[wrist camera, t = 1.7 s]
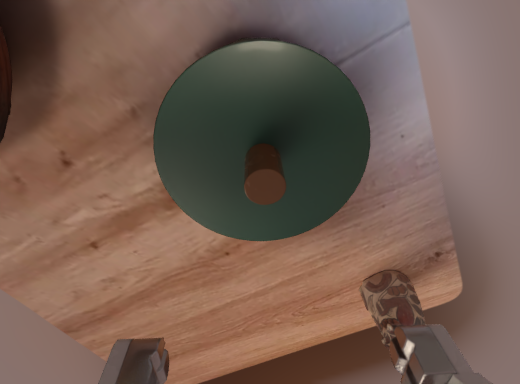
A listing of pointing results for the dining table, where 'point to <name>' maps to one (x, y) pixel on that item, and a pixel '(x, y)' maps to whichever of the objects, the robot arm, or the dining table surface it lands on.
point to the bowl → (4, 84)
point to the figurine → (391, 303)
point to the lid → (261, 140)
